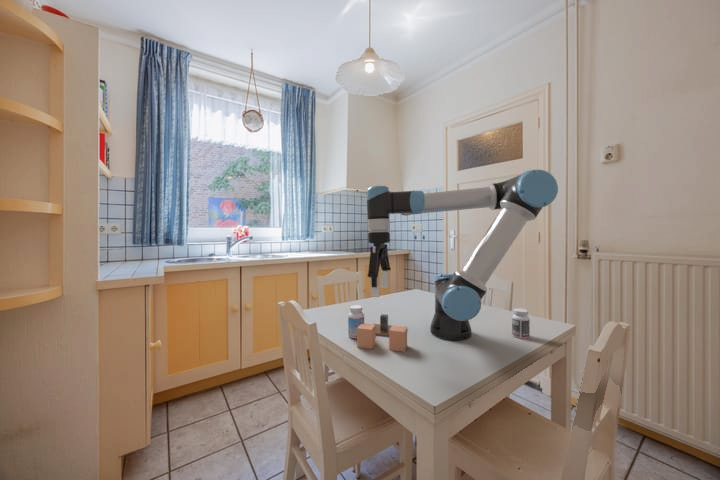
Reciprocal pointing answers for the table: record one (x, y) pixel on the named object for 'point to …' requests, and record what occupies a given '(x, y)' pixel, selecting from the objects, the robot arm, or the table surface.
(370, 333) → the peach cardboard cube
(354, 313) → the pill bottle
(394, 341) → the salmon pink cube
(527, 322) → the pill bottle
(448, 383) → the table surface
